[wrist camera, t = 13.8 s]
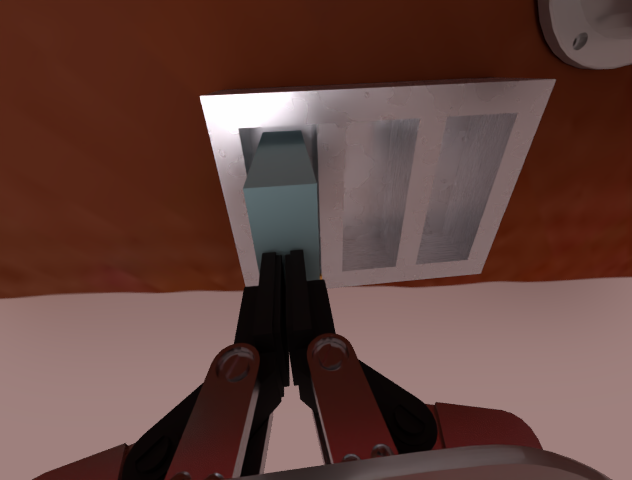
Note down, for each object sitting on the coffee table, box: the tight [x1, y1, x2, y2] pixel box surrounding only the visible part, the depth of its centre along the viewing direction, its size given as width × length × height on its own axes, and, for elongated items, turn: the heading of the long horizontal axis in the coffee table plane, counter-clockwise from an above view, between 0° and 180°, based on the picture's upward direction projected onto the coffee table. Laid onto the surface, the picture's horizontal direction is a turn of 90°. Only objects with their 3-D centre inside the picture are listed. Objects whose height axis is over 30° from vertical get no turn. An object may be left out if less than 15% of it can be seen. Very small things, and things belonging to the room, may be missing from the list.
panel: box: [243, 130, 320, 286], centre depth 15 cm, size 2×8×10 cm, turn 2°
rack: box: [200, 77, 556, 288], centre depth 19 cm, size 18×13×5 cm
